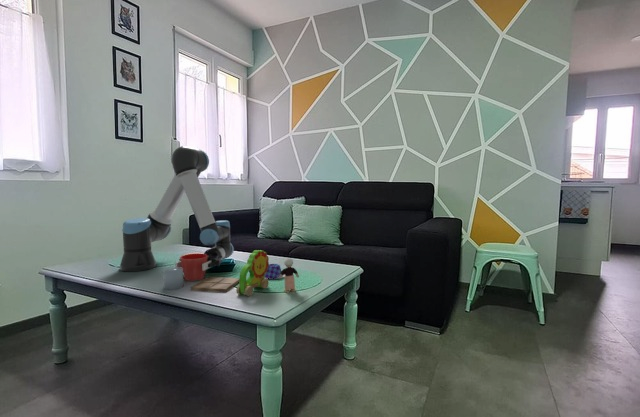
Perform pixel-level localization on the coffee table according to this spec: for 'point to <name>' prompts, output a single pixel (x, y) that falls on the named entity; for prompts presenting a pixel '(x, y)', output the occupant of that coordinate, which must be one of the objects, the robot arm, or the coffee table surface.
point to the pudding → (273, 271)
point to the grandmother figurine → (289, 275)
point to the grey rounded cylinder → (173, 278)
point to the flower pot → (193, 266)
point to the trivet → (215, 284)
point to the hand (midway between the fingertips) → (189, 266)
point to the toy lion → (254, 273)
